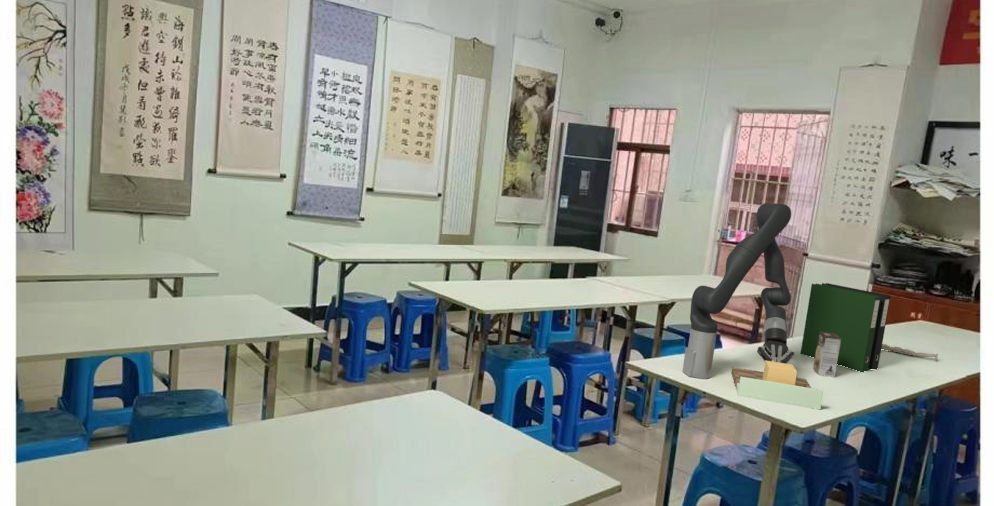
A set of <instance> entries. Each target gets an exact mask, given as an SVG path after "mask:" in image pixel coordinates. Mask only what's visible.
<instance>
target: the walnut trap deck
mask: <svg viewBox="0 0 994 506" xmlns="http://www.w3.org/2000/svg"><path fill="white" fill-rule="evenodd" d="M763 372H764V371H758V370H752V369H746V368H742V367H734V366H732V367H731V372H730V374H731V378H732V381H733V380H734V381H733V383H734V387H737V383H739V382H740V377H746V378H753V379H759V380H762V379H763ZM795 386H801V387H807V388H812V386H811V384H810V383H809V381H807V379H806V378H801V377H797V376H796V382H795Z"/></svg>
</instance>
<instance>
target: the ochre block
mask: <svg viewBox="0 0 994 506" xmlns="http://www.w3.org/2000/svg"><path fill="white" fill-rule="evenodd" d="M762 372H763V379H762V380H765V381H771V382H777V383H783V384H789V385H795V382H796V377H797V375H798V370H797V369H796V368H795V366H794V365H793V364H790V363H786V364H785V363H779V362H776V361H775V362H772V361H766V360H765V361H764V367H763V371H762Z"/></svg>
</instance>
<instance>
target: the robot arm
mask: <svg viewBox="0 0 994 506" xmlns="http://www.w3.org/2000/svg"><path fill="white" fill-rule="evenodd" d="M791 218H792V210H791V208H790V206H788V205H787V204H784V203H776V202H775V203H774V202H773V203H772V202H771V203H769V202H768V203H767V202H765V203H762V204H760V206H759V207H758V208H757V211H756V222H757V227H758V229H757V230H756V231H755V232H752V233H751V234H750V235H747V237H745V238H743V239H742V240H740V241H739V242H738V243H736V245H735V246H734V247H733V249H732V250H731V251H730V253H729V254H728V256H727V258H726V260H725V261H726V262H725V270H724V271H725V272H724V276H723V278H722V280H721V281H720V283H719V284H718V285H717V286H716V287H711V286H707V285H700V286H696V288H695V290H694V291H693V293H692V297H691V303H690V314H689V319H690V333H689V339H688V345H687V346H686V347H685V350H684V358H683V365H682V373H683V374H686V376H688V377H689V378H697V379H701V380H702V379H703V380H705V379H710V378H711V375H712V374H711V373H712V367H713V361H714V355H715V353H714V352H715V346H716V340H717V332H718V324H717V322H715V321H714V319H713V318H712V316H711V315H717V314H720V313H721V312H722V311H723V310H724V309H725V308H726V306H727V305H728V303H729V301H730V300H731V298H732V297H733V295H734V293H735V291H736V290H737V288H738V287H739V285H740V284H741V283H742V281H743V280H744V278H745V277H746V276H747V274H748V273H749V272H750V271H751V269H752V268H753V267H754V265H755V264H756V263H757V262H758V260H759V259H760V257H761V256H762V254H763V258H764V279H765V281H767V282H768V283H773V284H777V285H778V286H779V287H765V288H763V289H762V290H761V292H760V299H761V302H762V305H763V307H764V310H765V322H764V323H765V324H764V343H763V345H762V346H758V347H757V349H756V352H757V354H758V355H759V356H760V357H761V358H762V359H763V361H764V362H765V360H766V361H772V362H779V363H785V364H788V362H790V360H792V359H793V358H794V355H795V352H794V351H790V350H789V347H788V344H787V343H788V341H787V340H788V333H787V332H788V329H787V313H786V309H784V308H783V306H784V307H785V306H788V305H790V303H791V300H792V295H791V293H790V290H789V287H788V284H787V280H786V274H785V273H786V272H785V271H786V270H785V269H786V268H785V259H784V256H783V253H782V251H781V249H780V247H779V245H778V243H777V240H776V237H778V235H779V234H780V233H781V232H782V231H784V230H785V228H786V227H787V226H788V224H789V223H790V221H791ZM784 356H785V357H784ZM782 357H784V358H782Z"/></svg>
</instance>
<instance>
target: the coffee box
mask: <svg viewBox="0 0 994 506" xmlns="http://www.w3.org/2000/svg"><path fill="white" fill-rule="evenodd" d="M840 343H841V338H840V337H839V336H838V335H836V334H835V333H828V332H819V335H818V341H817V347H816V353H815V358H813V359H814V361H813V366H812V367H813V368H812V369H813V370H814V372H815V371H816V372H815V373H816V374H817V375H818V376H821V375H825V376H824V377H828V376H831V378H835V377H836V370H837V366H838V365H837V360H838V355H839V349H840Z"/></svg>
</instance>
